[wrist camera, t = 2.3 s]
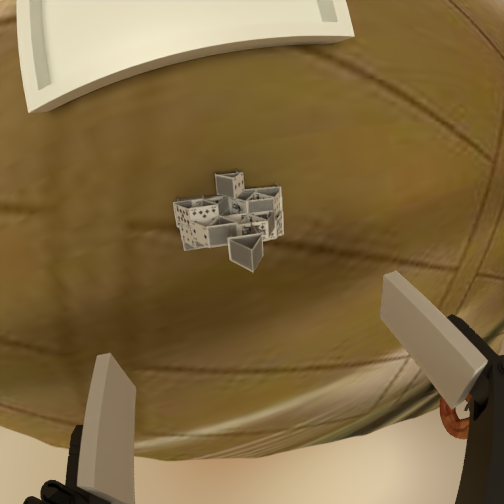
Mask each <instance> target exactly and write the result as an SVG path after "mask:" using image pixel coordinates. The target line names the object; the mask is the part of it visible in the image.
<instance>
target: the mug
mask: <svg viewBox="0 0 504 504" xmlns="http://www.w3.org/2000/svg"><path fill="white" fill-rule="evenodd" d="M471 398H472V396H471V395H470V393H469V394H468V396H467V397H466V399H465V400H466V401H467V402H469V401H470V399H471ZM469 411H470V407H469ZM440 416H441V419H442V423H443V425H444V427H445V428H446V430H447V432H448V433H449V434H450V435H452V436H454V437H456V438H459V439H467V438H468V429H469V417H468V418H465V419H461V420H460V419H459V418H458V416H457V414H456V411H455V408H453V409H452V410H451V408H450V407H449V405H448V404H447V403H446V401H445V400H444V399H443V397H442V396H441V400H440Z"/></svg>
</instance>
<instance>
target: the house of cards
mask: <svg viewBox="0 0 504 504" xmlns="http://www.w3.org/2000/svg"><path fill="white" fill-rule="evenodd" d="M214 173H215V171H214ZM215 184H216V190H217V195H210V196H203V195H198V196H191V197H184V198H178V199H177V202H173V206H174V212H175V218H176V225H177V227H178V229H180V233H181V239H182V242H183V247H184V251H187V250H193V249H200V248H206V247H208V248H212V247H219V246H225V245H228V250H229V259H230V260H231V261H232V262H234V263H236V264H238V265H240V266H242V267H244V268H245V269H247V270H249V271H251V272H253V273H254V271H255V269H256V268H257V266H258V264H259V262H260V260H261V259H262V257H263V241H269V240H271V239H277V237H278V236H282V235H284V223H283V213H284V212H283V211H282V209H283V208H282V196H281V187H279V185H278V184H277V183H275V186H269V187H260V188H251V189H244V175H243V172H238V171H237V170H236V169H235V173H230V174H222V175H217V174H216V173H215Z"/></svg>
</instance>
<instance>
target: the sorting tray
mask: <svg viewBox="0 0 504 504" xmlns="http://www.w3.org/2000/svg"><path fill="white" fill-rule="evenodd" d="M17 34H18V47H19V57H20V66H21V73H22V80H23V86H24V92H25V97H26V103H27V108H28V112H29V113H35V112H49V111H51V110H53V109H55V108H57V107H59V106H61V105H63V104H65V103H67V102H69V101H71V100H74V99H76V98H78V97H80V96H83V95H85V94H87V93H89V92H92V91H94V90H97V89H99V88H102V87H104V86H107V85H109V84H112V83H115V82H117V81H120V80H123V79H126V78H129V77H132V76H135V75H138V74H141V73H144V72H147V71H150V70H154V69H157V68H161V67H164V66H168V65H172V64H176V63H180V62H184V61H188V60H192V59H197V58H201V57H206V56H211V55H216V54H222V53H227V52H234V51H240V50H247V49H255V48H264V47H273V46H285V45H302V44H334V43H337V42H340V41H343V40H346V39H349V38H352V37H355V36H354V32H353V27H352V23H351V19H350V15H349V11H348V7H347V4H346V0H17Z"/></svg>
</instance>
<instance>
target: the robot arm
mask: <svg viewBox="0 0 504 504" xmlns="http://www.w3.org/2000/svg"><path fill="white" fill-rule="evenodd" d="M380 319H381V320H382V321H383V322H384V324H385V325H386V326H387V327H388V328H389V330H390V331H391V332H392V333H393V334H394V336H395V337H396V338H397V339H398V341H399V342H400V343H401V344H402V346H403V347H404V348H405V349H406V351H407V352H408V353H409V354H410V356H411V357H412V358H413V359H414V361H415V362H416V363H417V364H418V366H419V367H420V368H421V370H422V371H423V372H424V373H425V375H426V376H427V377H428V379H429V380H430V381H431V383H432V384H433V385H434V387H435V388H436V389H437V391H438V392H439V393H440V395H441V396H442V397H443V399H444V400H445V401H446V403H447V404H448V405H449V407H450V408H451V410H452V409H453V408H455V407H456V406H457V405H459V404H460V403H462V402H463V401H464V400H465V399H466V397H467V396H468V394H469V393H470V395H471V396H472V398H471V399H470V401H469V402H468V404H467V405H466V407H465V411H467V410H468V408H469V407H470V417H469V429H468V438H467V446H466V453H465V459H464V466H463V471H462V476H461V481H460V485H459V490H458V494H457V498H456V502H455V504H504V355H500V356H499V355H497V354H496V353H495V352H494V351H493V350H492V349H491V348H490V347H489V346H488V345H487V344H486V343H485V342H484V341H483V340H482V338H481V337H480V336H479V335H478V334H475V331H474V330H473V329H472V328H469V325H467V324H466V323H465V322H464V321H463V320H462V319H461V318H459V317H457V316H455V315H453V314H452V315H450V316H448V317H445V316H444V315H443V314H442V313H441V312H440V311H439V310H438V309H437V308H436V307H435V306H434V305H433V304H432V303H431V302H430V301H429V300H428V299H427V298H426V297H425V296H424V295H422V294H421V293H420V292H419V291H418V290H417V289H416V288H415V287H414V286H413V285H412V284H411V283H409V282H408V281H407V280H406V279H405V278H404V277H403V276H402V275H401V274H399V273H398V272H397V271H393V272H391V273H388V274H385V275H384V276H383V289H382V300H381V310H380ZM135 402H136V387H135V386H134V384H133V383H132V382H131V380H130V379H129V378H128V376H127V375H126V374H125V372H124V371H123V370H122V368H121V367H120V365H119V364H118V363H117V361H116V360H115V358H114V357H113V356H112V354H111V353H107V354H102V355H97V358H96V363H95V367H94V371H93V376H92V381H91V386H90V391H89V396H88V401H87V407H86V412H85V419H84V425H76V427H75V429H74V431H73V433H72V435H71V441H70V448H69V456H68V464H67V473H66V483H65V485H63V484H61V483H60V482H58V481H56V480H49V481H47V482H45V483H44V485H43V486H42V488H41V500H40V499H38V498H36V497H33V496H30V497H28V498H26V499H25V501H24V503H23V504H111V503H112V504H135V495H134V493H135V492H134V423H135Z"/></svg>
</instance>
